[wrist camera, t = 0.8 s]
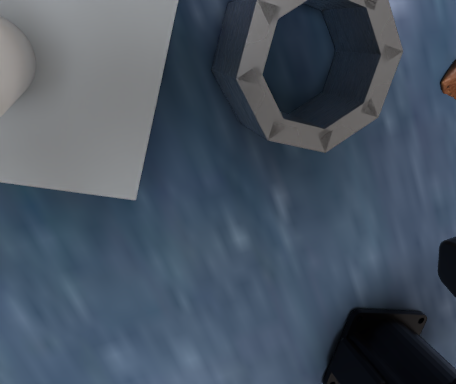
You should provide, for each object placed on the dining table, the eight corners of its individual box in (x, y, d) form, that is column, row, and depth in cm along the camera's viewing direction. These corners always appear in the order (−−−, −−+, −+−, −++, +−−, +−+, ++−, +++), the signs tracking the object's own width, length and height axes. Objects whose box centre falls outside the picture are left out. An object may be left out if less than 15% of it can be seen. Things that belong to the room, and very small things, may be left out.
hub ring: (369, 4, 20) (421, 0, 17) (323, 141, 22) (362, 160, 19) (240, -48, 17) (273, -64, 14) (200, 113, 19) (222, 130, 16)
